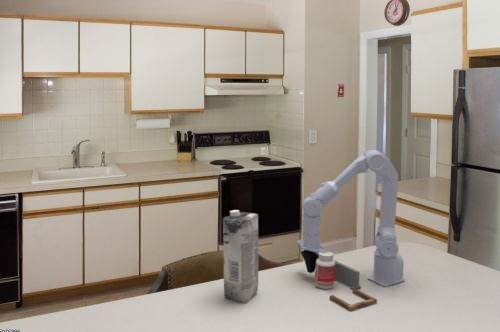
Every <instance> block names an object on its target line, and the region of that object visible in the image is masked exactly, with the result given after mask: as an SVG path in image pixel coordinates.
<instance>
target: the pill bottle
mask: <svg viewBox="0 0 500 332" xmlns="http://www.w3.org/2000/svg"><path fill="white" fill-rule="evenodd" d="M327 251H328V252H327V253H320V252H319V258H318V259H317V260H316V268H315V272H314V286H316V287H317V288H319V289H321V290H328V289H332V288H334V286H335V279H334V275H335V261H336V260H335V259H334V252H331V251H329V250H327ZM334 260H335V261H334Z"/></svg>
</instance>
